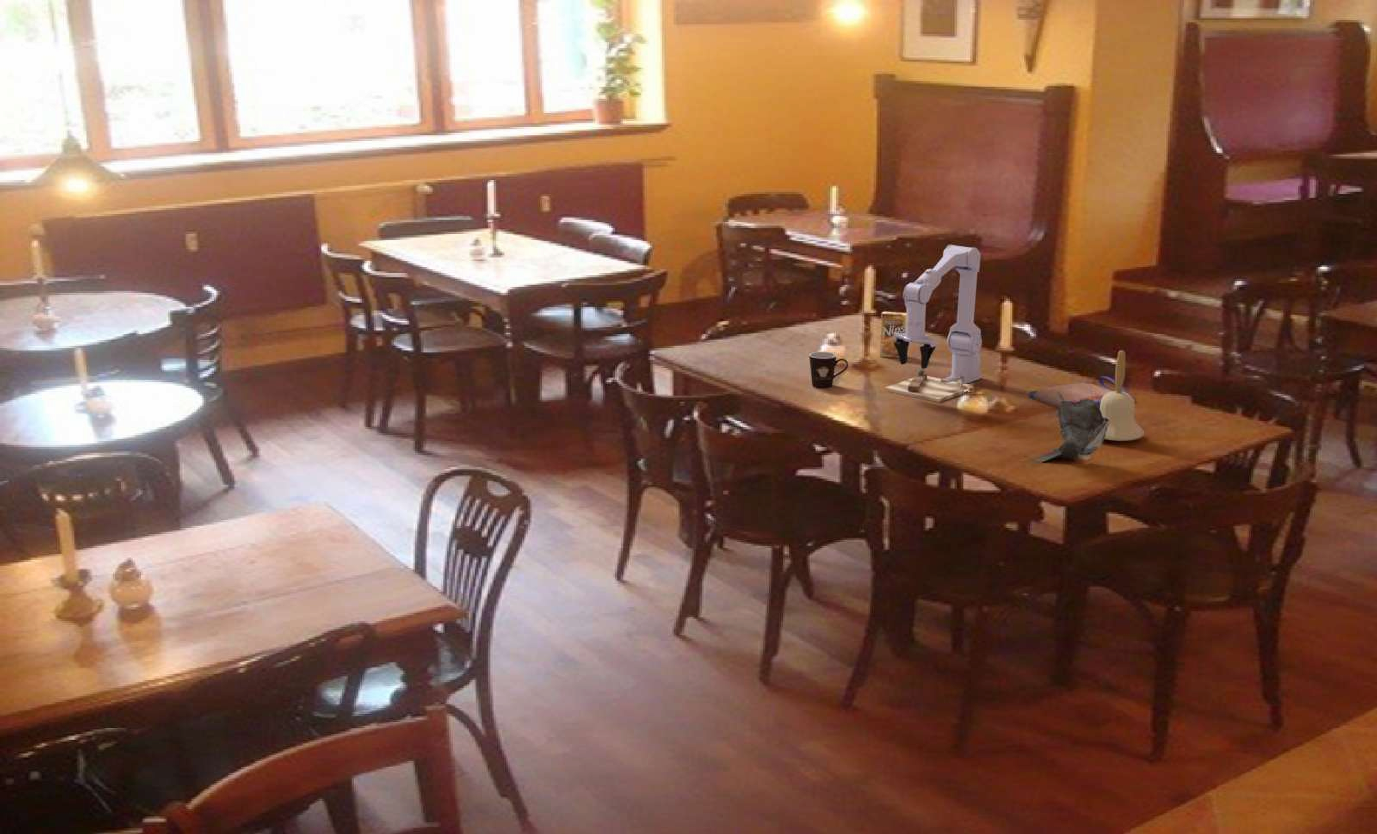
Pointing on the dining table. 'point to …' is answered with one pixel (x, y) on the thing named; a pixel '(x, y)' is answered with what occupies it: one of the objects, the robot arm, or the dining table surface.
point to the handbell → (1120, 408)
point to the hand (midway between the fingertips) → (913, 365)
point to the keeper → (955, 378)
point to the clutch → (1073, 393)
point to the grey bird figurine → (1078, 431)
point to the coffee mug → (823, 368)
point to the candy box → (891, 332)
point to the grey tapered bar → (917, 381)
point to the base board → (929, 389)
